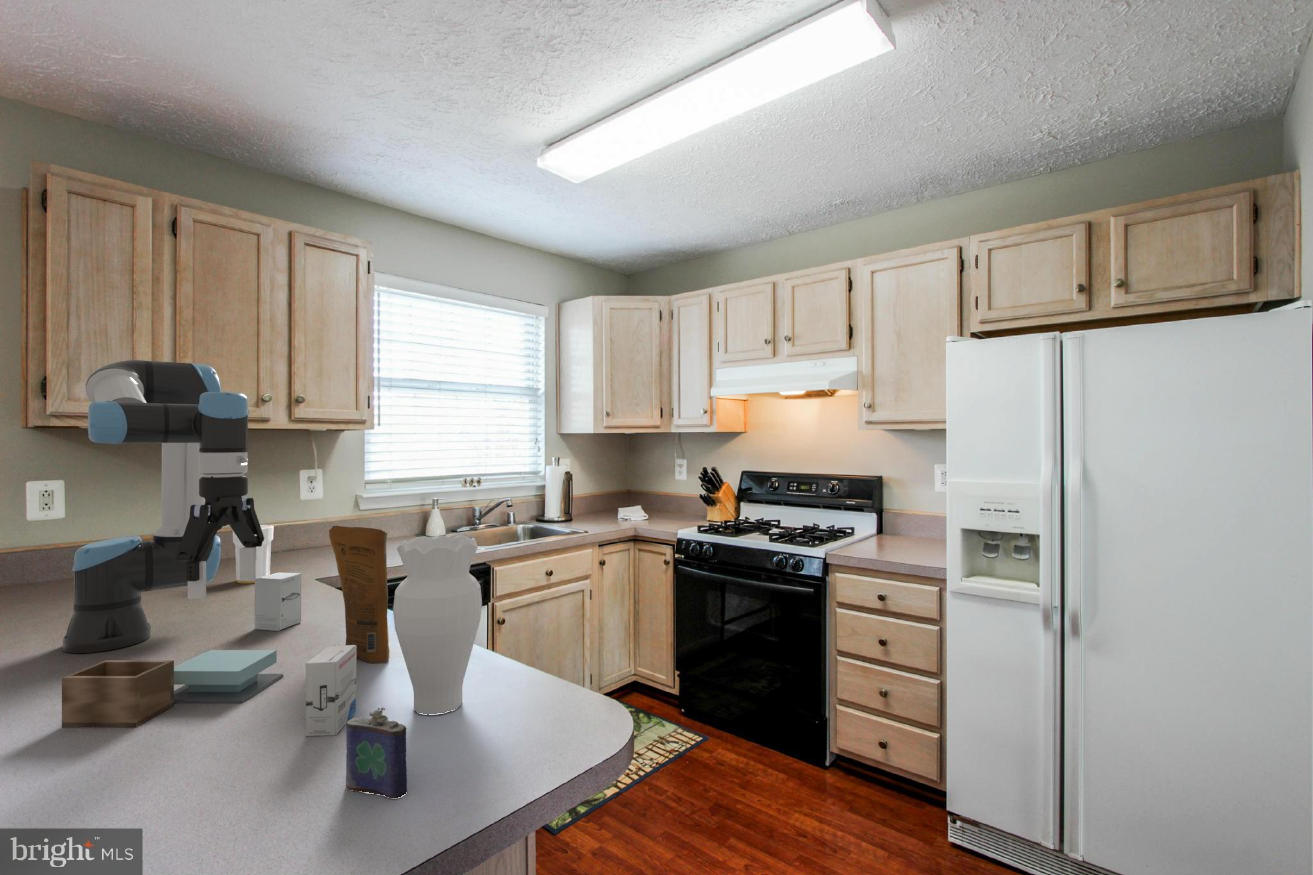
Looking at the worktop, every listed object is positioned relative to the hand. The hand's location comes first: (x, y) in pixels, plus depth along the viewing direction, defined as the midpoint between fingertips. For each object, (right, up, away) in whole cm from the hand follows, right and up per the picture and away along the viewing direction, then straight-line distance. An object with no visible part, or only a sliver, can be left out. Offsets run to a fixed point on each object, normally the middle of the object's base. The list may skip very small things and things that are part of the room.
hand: (223, 589), depth 117 cm
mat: (0, -19, 0) cm, 19 cm away
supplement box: (-13, -19, +39) cm, 45 cm away
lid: (0, -16, 0) cm, 16 cm away
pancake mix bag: (+18, -19, +18) cm, 31 cm away
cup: (-51, -19, +88) cm, 104 cm away
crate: (-9, -19, -12) cm, 24 cm away
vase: (+43, -19, -7) cm, 47 cm away
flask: (+43, -19, -33) cm, 58 cm away
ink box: (+28, -19, -14) cm, 36 cm away
